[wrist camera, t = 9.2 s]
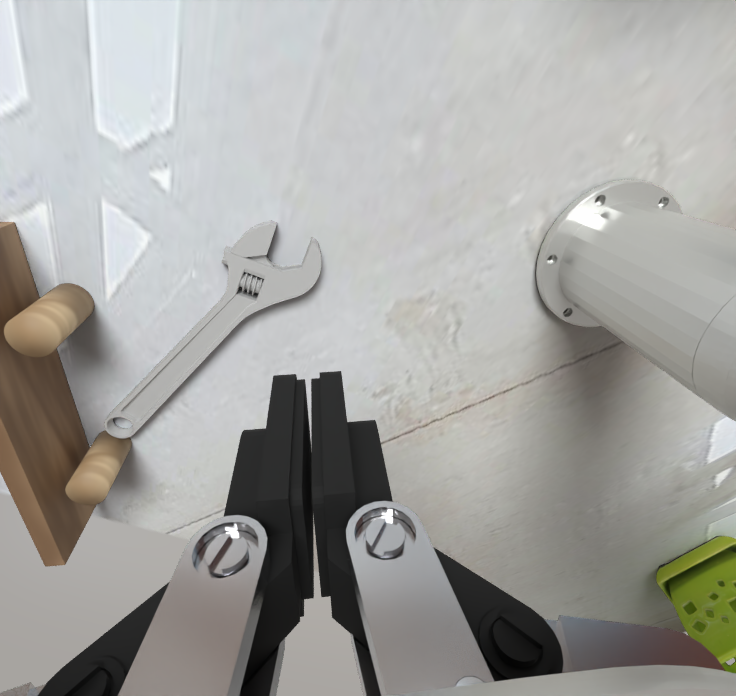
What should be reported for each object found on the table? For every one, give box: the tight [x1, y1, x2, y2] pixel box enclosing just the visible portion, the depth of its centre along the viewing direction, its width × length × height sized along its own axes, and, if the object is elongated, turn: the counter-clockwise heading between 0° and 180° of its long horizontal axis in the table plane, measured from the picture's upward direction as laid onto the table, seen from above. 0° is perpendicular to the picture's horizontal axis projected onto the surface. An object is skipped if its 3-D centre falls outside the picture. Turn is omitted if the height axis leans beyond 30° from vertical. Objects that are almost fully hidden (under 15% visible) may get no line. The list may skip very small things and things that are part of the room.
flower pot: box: [656, 536, 736, 673], centre depth 58 cm, size 14×14×13 cm
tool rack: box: [0, 222, 132, 566], centre depth 33 cm, size 5×26×8 cm, turn 177°
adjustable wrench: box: [104, 220, 321, 438], centre depth 36 cm, size 25×6×2 cm, turn 129°
